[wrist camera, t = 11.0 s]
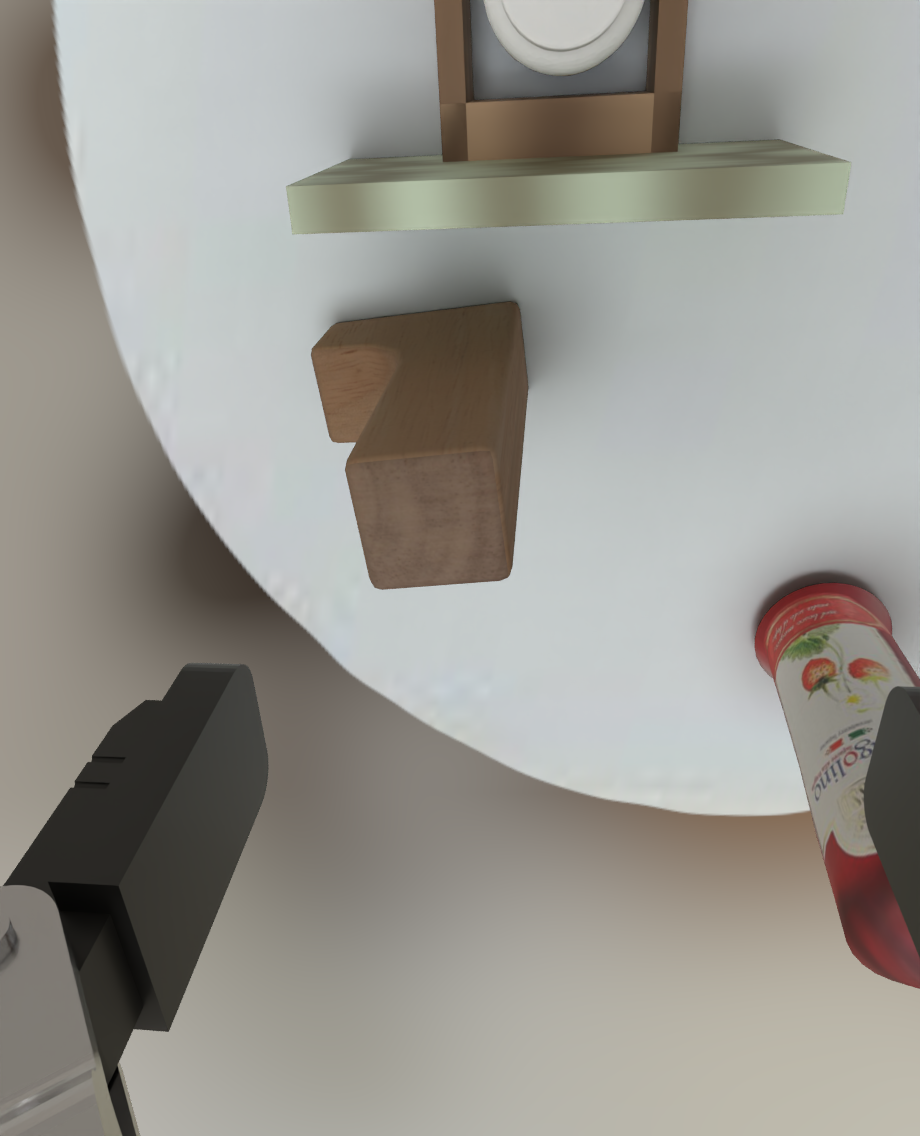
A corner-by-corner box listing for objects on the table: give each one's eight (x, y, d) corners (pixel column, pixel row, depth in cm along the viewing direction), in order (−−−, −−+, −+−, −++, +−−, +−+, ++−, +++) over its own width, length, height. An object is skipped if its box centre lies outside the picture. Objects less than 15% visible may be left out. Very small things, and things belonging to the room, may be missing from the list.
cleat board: (818, -177, 30) (921, -274, 22) (774, 179, 36) (843, 214, 27) (318, -135, 32) (232, -209, 24) (352, 196, 38) (292, 234, 29)
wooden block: (349, 412, 43) (233, 605, 28) (330, 322, 41) (192, 477, 25) (529, 392, 42) (513, 585, 26) (519, 298, 40) (494, 446, 24)
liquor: (834, 540, 44) (1171, 1112, 20) (916, 628, 46) (1310, 1242, 22) (717, 621, 47) (886, 1202, 23) (799, 700, 49) (1032, 1309, 25)
